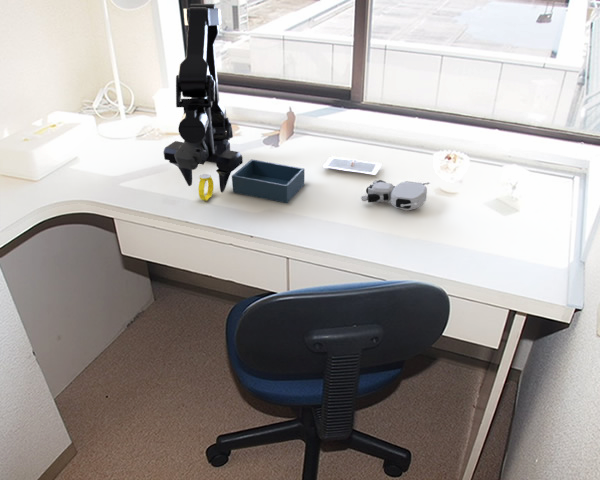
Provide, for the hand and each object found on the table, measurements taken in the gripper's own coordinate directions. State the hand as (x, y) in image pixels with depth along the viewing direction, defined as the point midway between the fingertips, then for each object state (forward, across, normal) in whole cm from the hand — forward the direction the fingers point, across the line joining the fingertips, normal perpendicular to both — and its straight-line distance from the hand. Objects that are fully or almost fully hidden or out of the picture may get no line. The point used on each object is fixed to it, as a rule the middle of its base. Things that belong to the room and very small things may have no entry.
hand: (206, 188), depth 138 cm
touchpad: (+3, +28, +31) cm, 42 cm away
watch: (+3, 0, 0) cm, 3 cm away
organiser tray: (+3, +12, +11) cm, 16 cm away
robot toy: (+3, +44, +16) cm, 47 cm away
